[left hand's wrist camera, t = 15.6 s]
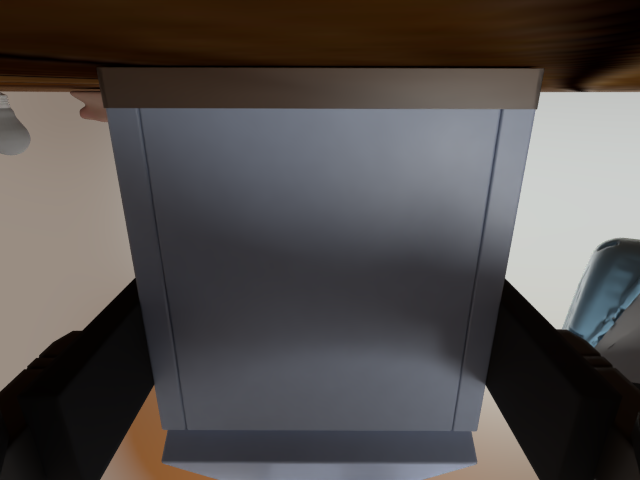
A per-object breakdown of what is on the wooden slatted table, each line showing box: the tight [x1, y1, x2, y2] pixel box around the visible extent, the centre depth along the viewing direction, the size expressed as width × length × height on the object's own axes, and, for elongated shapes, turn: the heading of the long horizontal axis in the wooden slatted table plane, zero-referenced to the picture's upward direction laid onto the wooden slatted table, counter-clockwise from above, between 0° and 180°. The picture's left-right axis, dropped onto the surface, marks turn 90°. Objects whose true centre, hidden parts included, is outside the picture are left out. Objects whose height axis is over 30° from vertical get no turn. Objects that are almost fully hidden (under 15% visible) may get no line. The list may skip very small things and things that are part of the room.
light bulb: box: [0, 93, 30, 155], centre depth 65 cm, size 6×6×10 cm
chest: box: [97, 67, 544, 431], centre depth 18 cm, size 17×10×10 cm, turn 0°
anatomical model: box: [70, 91, 108, 122], centre depth 42 cm, size 13×4×12 cm
